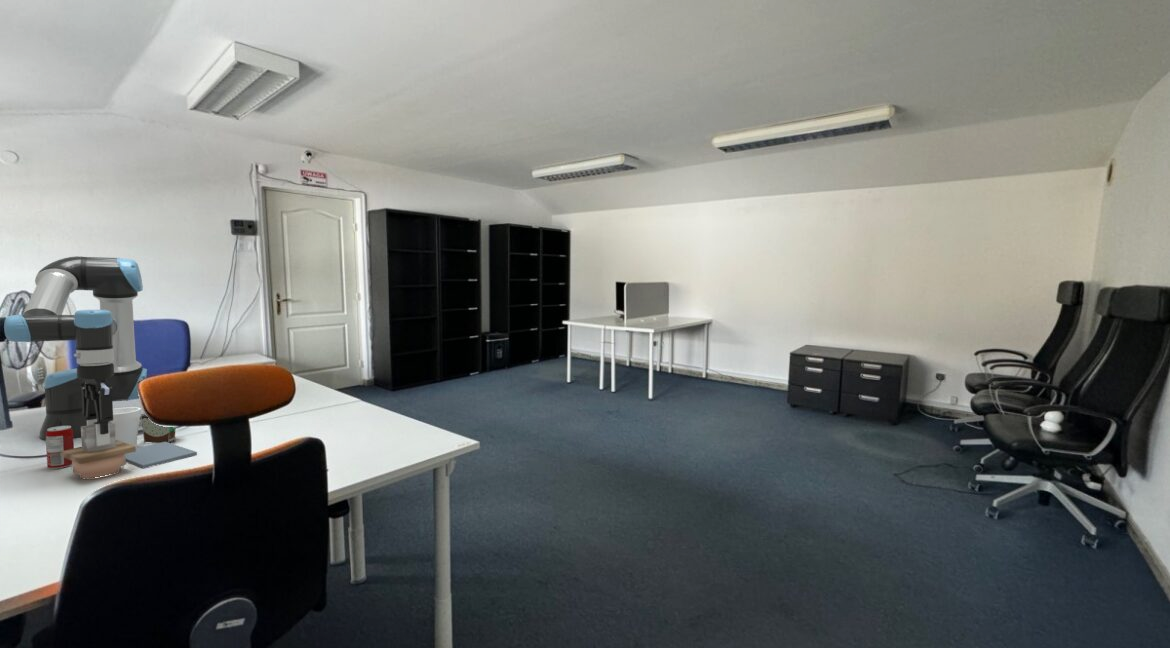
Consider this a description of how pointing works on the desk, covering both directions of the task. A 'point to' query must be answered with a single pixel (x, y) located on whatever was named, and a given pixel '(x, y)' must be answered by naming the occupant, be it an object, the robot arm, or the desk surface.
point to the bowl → (99, 467)
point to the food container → (156, 431)
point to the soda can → (58, 446)
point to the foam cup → (126, 424)
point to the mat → (157, 454)
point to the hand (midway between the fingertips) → (98, 442)
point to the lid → (94, 452)
